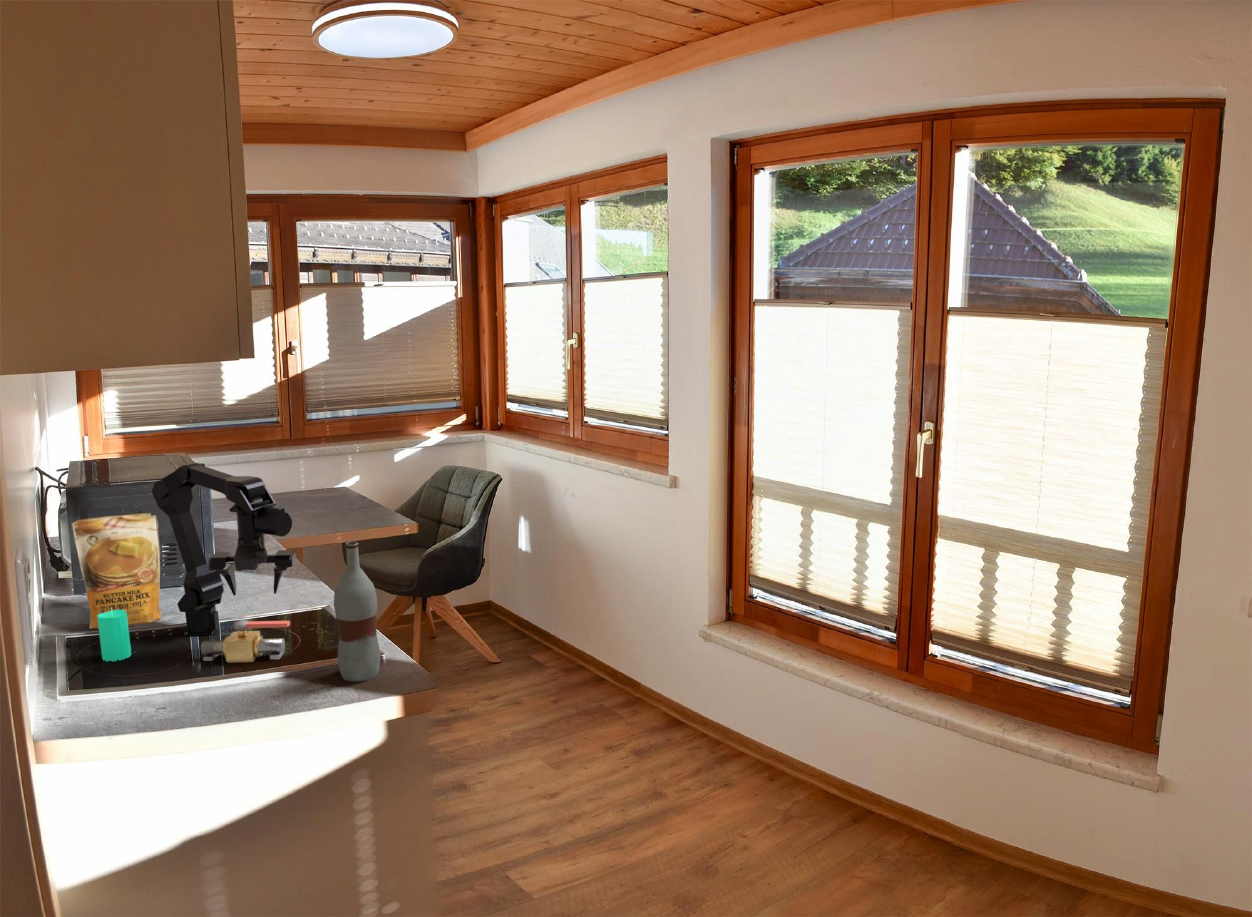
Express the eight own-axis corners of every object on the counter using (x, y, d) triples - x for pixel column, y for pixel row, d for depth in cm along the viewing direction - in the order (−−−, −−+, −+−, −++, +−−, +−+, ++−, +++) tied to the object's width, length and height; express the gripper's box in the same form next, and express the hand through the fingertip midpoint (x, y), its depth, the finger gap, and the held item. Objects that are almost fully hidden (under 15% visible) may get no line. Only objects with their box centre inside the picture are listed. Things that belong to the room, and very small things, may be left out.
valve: (199, 663, 216) (196, 634, 215) (209, 653, 222) (206, 625, 221) (280, 661, 217) (277, 632, 216) (287, 650, 223) (285, 622, 222)
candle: (102, 663, 217) (96, 613, 215) (102, 654, 222) (96, 605, 220) (131, 658, 220) (125, 609, 217) (131, 649, 225) (125, 601, 223)
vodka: (382, 679, 207) (374, 546, 201) (338, 685, 204) (329, 550, 198) (380, 663, 215) (373, 535, 210) (338, 668, 213) (329, 539, 207)
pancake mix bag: (85, 624, 242) (72, 517, 237) (167, 613, 250) (156, 509, 245) (82, 633, 236) (69, 524, 231) (167, 621, 244) (156, 515, 239)
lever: (232, 629, 217) (231, 624, 216) (237, 624, 220) (236, 620, 220) (286, 628, 217) (286, 623, 217) (291, 623, 220) (290, 619, 220)
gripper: (199, 542, 214) (205, 607, 217) (286, 539, 217) (290, 603, 220) (212, 529, 225) (217, 591, 228) (294, 526, 228) (298, 588, 231)
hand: (255, 594), depth 226 cm, fingers open, 9 cm apart
